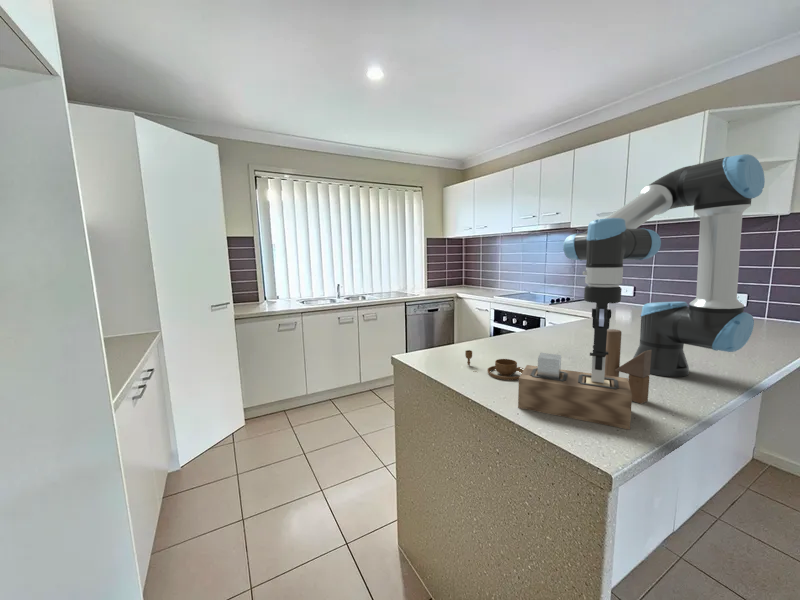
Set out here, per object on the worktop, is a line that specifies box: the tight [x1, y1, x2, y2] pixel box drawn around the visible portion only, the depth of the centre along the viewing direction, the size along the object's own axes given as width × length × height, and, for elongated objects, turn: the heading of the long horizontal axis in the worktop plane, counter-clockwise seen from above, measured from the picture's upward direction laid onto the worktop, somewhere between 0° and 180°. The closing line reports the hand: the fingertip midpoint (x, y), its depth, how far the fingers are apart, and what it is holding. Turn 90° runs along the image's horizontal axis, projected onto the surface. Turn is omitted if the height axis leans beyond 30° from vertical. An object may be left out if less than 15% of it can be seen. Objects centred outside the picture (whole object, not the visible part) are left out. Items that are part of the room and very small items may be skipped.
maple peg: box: [586, 377, 610, 387], centre depth 82 cm, size 5×5×7 cm
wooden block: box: [605, 328, 652, 405], centre depth 91 cm, size 4×11×18 cm, turn 29°
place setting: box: [465, 349, 524, 381], centre depth 115 cm, size 18×20×6 cm
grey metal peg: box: [537, 352, 562, 379], centre depth 87 cm, size 5×5×7 cm
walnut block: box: [517, 364, 633, 430], centre depth 85 cm, size 24×12×8 cm, turn 60°
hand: (597, 381), depth 82 cm, fingers closed
